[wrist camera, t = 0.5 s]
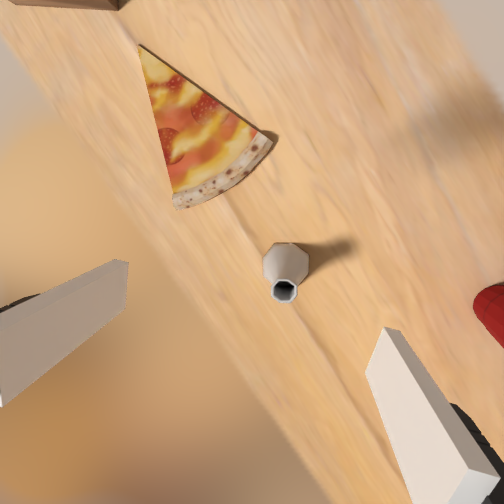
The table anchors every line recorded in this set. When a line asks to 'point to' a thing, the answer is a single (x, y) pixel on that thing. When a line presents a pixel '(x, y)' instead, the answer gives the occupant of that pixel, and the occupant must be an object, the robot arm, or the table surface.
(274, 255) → the flask
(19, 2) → the fry holder
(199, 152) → the pizza slice
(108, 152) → the table surface
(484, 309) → the plastic cup
